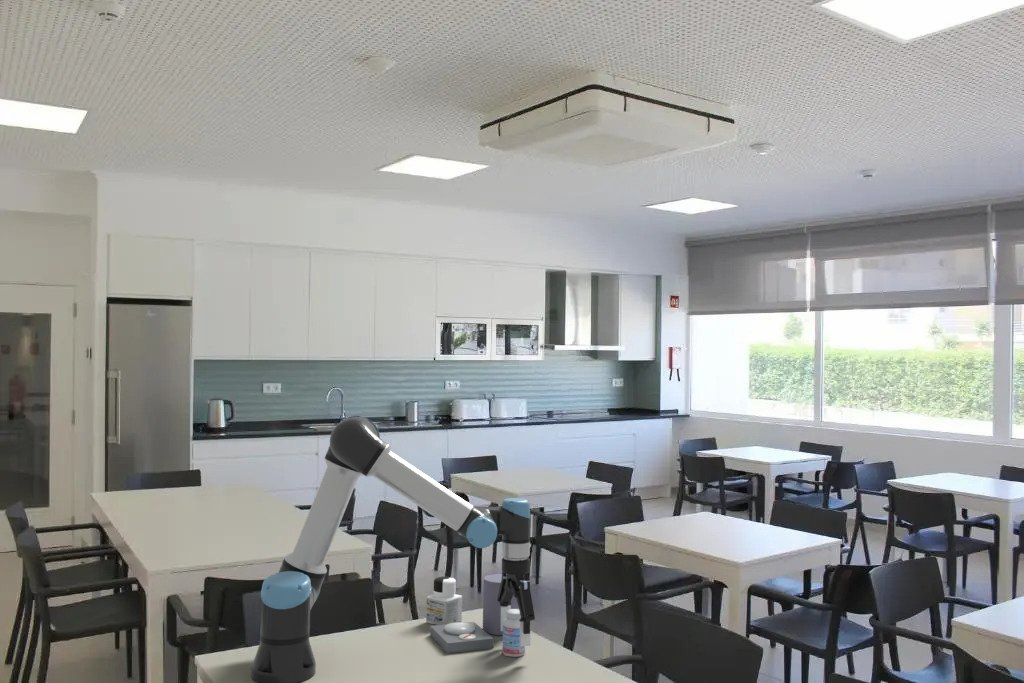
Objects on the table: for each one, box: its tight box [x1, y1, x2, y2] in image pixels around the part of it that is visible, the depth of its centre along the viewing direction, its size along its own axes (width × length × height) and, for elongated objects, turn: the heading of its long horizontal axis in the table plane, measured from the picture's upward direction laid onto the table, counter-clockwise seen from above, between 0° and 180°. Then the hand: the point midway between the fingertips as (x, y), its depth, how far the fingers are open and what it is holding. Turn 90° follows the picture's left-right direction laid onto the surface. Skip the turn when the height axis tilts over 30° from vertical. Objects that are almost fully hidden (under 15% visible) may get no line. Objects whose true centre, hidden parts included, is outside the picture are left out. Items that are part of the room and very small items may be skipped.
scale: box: [429, 621, 494, 654], centre depth 234 cm, size 13×16×4 cm
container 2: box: [482, 573, 519, 637], centre depth 245 cm, size 10×10×15 cm
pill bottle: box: [501, 609, 526, 658], centre depth 225 cm, size 6×6×11 cm
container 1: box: [425, 576, 463, 626], centre depth 253 cm, size 8×8×13 cm
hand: (515, 638), depth 225 cm, fingers open, 13 cm apart
